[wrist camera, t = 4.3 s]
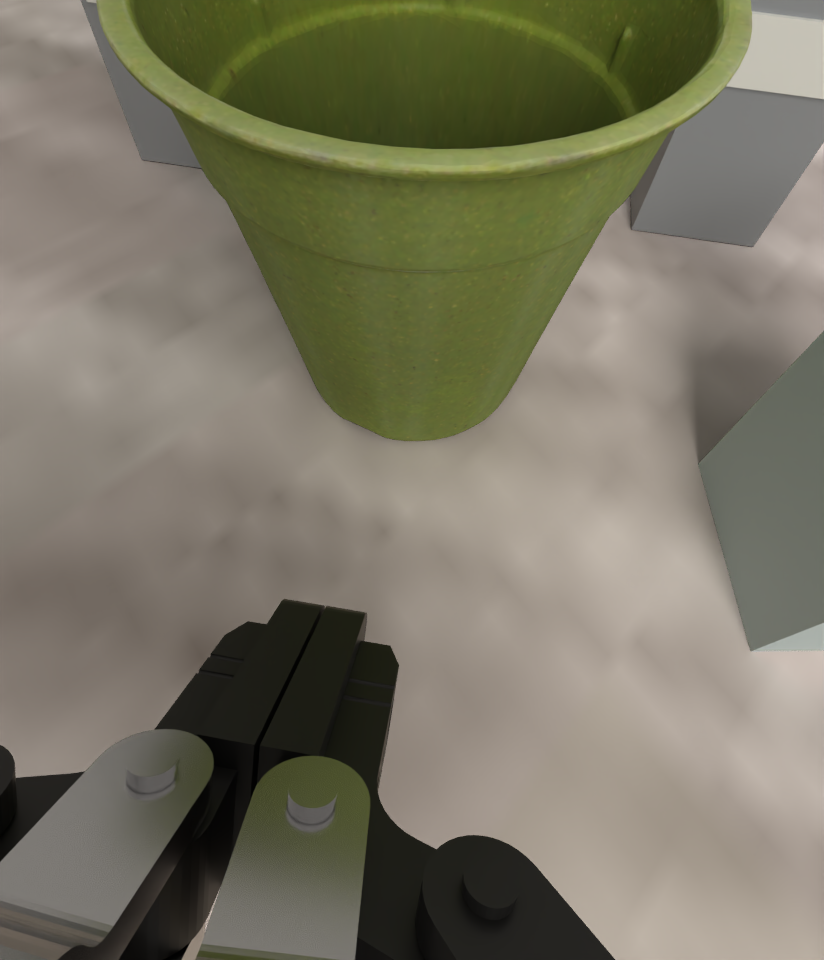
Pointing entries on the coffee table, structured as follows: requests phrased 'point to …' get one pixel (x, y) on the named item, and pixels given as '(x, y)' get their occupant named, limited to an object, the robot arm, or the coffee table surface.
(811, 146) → the block
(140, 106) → the block
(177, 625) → the coffee table surface
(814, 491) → the block
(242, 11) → the plant pot
